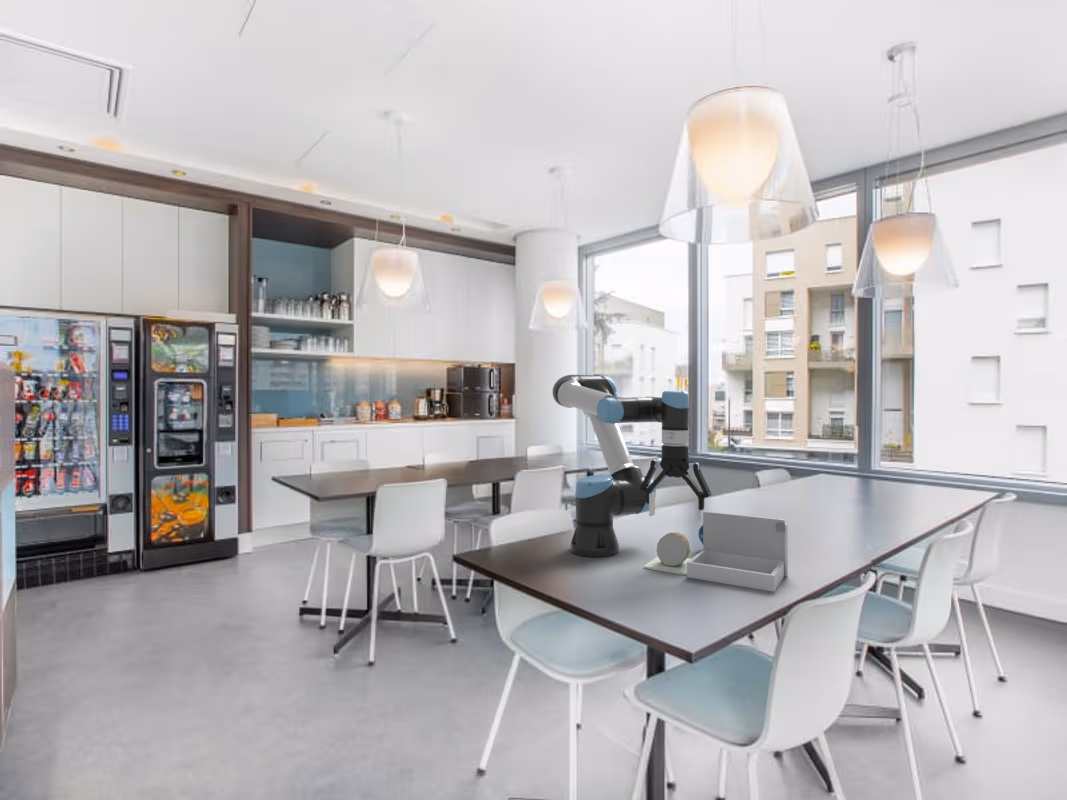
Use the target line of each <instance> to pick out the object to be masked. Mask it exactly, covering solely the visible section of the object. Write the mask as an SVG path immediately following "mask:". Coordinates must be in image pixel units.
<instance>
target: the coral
mask: <svg viewBox="0 0 1067 800" xmlns="http://www.w3.org/2000/svg"><path fill="white" fill-rule="evenodd" d="M656 545H657V546H656V554H657V557H659V559H660V561H661V562H662V563H663V564H665V565H667V566H676V565H679V564H681V563H683V562H684V561H685V560H686V559H687V558H689V555H690V553H691V549H690V548H691V547H690V542H689V541H688V539H687V537H686V536H685V535H684V534H683V533H680V532H676V531H674V532H668V533H666V534H664V535H663V536H662V537H661V538H659V540H658V542H657V544H656Z"/></svg>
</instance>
